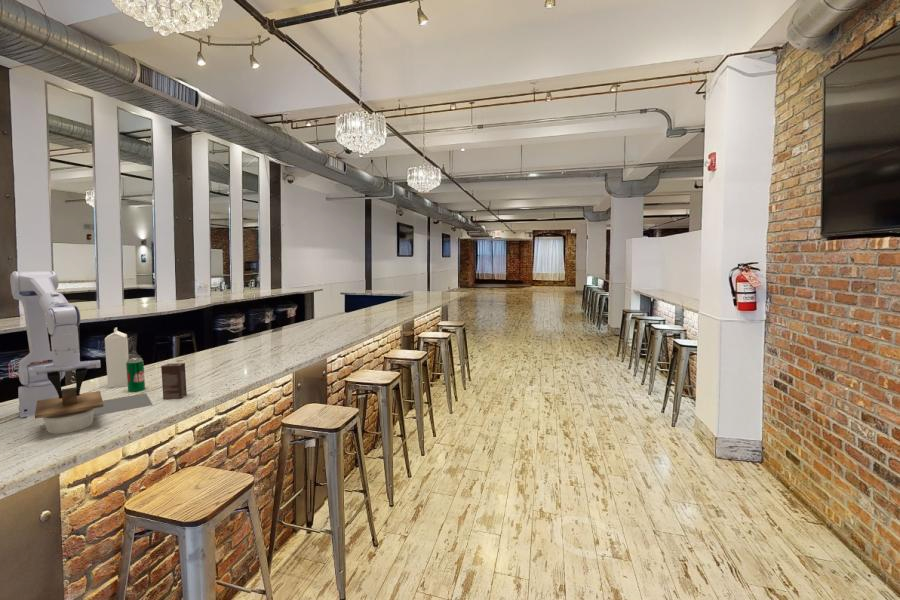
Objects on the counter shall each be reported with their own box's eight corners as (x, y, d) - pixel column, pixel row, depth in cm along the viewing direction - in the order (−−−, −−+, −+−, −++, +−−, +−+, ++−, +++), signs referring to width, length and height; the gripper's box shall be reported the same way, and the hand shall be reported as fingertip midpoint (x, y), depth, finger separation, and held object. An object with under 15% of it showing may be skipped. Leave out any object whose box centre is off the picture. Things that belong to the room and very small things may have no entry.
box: (187, 395, 151) (185, 362, 150) (181, 399, 147) (179, 365, 146) (168, 396, 150) (166, 362, 149) (162, 400, 146) (160, 366, 145)
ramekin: (82, 419, 129) (80, 402, 129) (104, 424, 125) (103, 407, 125) (34, 432, 119) (33, 414, 118) (57, 439, 115) (56, 420, 114)
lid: (34, 418, 112) (33, 403, 112) (37, 403, 123) (35, 388, 122) (103, 406, 122) (102, 392, 121) (100, 393, 132) (99, 379, 131)
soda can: (136, 393, 153) (134, 360, 152) (124, 392, 154) (122, 360, 153) (148, 389, 158) (146, 357, 157) (137, 388, 159) (135, 356, 158)
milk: (108, 388, 159) (103, 329, 156) (111, 384, 164) (106, 327, 162) (128, 386, 162) (123, 328, 159) (130, 382, 167) (126, 326, 165)
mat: (89, 418, 130) (89, 416, 129) (87, 404, 141) (87, 403, 141) (153, 406, 140) (152, 405, 140) (146, 394, 152) (146, 393, 152)
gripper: (28, 355, 112) (33, 405, 114) (99, 347, 122) (103, 394, 123) (30, 350, 118) (34, 399, 119) (98, 344, 127) (101, 388, 129)
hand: (69, 396), depth 122 cm, fingers closed on lid, 3 cm apart
